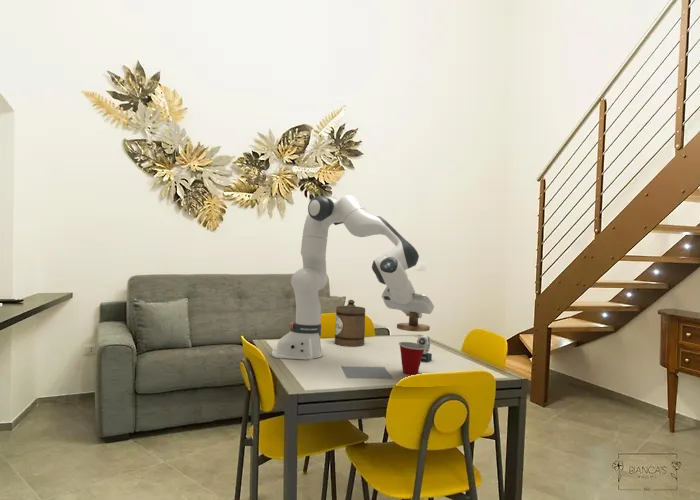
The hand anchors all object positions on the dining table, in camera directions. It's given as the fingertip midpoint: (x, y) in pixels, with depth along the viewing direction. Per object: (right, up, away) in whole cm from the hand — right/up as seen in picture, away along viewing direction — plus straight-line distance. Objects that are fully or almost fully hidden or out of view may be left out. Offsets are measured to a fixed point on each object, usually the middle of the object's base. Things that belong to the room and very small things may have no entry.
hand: (414, 315), depth 214 cm
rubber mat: (-19, -22, -2) cm, 30 cm away
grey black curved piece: (+7, -23, +25) cm, 35 cm away
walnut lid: (-1, -5, 0) cm, 5 cm away
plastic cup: (-2, -23, 0) cm, 23 cm away
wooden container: (-26, -21, +55) cm, 65 cm away
